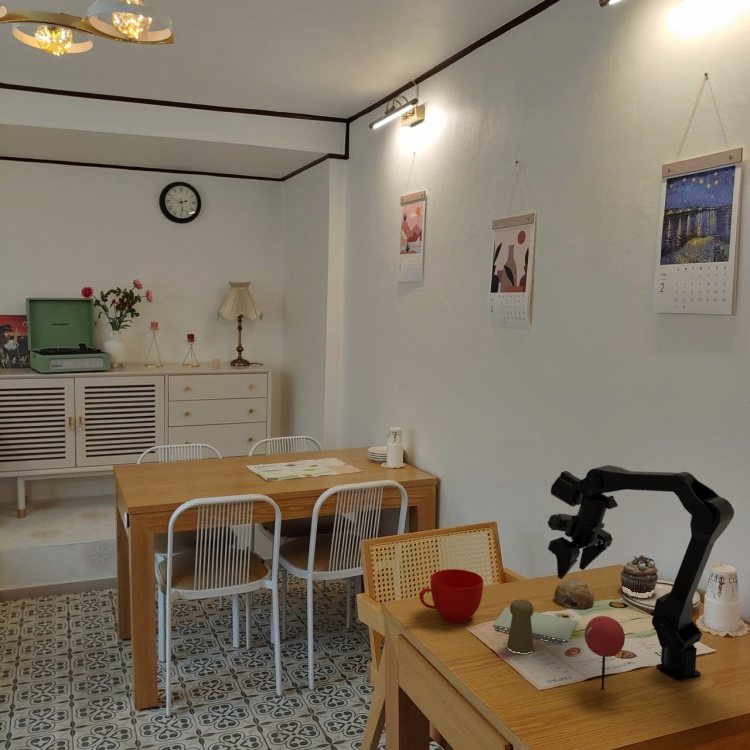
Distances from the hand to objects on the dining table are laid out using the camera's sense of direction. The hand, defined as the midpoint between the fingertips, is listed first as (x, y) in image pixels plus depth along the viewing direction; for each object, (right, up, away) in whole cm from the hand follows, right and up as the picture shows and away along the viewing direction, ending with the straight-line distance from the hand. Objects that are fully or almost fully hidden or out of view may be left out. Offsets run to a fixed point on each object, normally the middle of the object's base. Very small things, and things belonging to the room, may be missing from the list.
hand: (570, 573), depth 178 cm
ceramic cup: (-28, -13, +7) cm, 32 cm away
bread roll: (+6, -13, +19) cm, 23 cm away
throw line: (-10, -14, -2) cm, 18 cm away
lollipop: (0, -17, -26) cm, 31 cm away
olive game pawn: (-14, -15, -9) cm, 22 cm away
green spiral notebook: (-7, -14, +4) cm, 16 cm away
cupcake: (+25, -12, +25) cm, 37 cm away
